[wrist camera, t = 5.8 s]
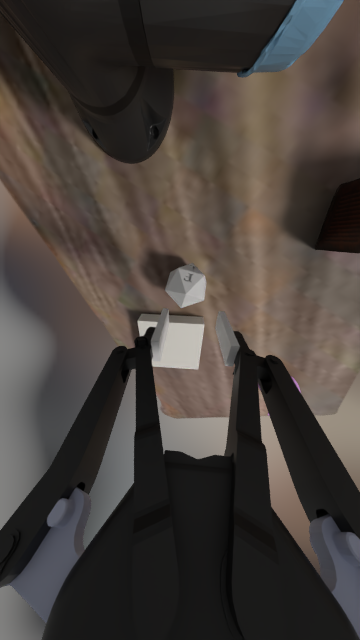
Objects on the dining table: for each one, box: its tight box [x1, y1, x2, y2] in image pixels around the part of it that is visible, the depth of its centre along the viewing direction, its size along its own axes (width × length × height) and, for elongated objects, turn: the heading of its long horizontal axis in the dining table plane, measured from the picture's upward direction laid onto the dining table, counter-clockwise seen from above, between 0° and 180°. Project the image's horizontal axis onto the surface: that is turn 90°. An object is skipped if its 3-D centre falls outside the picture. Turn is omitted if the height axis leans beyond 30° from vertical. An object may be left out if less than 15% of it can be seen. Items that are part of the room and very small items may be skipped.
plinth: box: [137, 314, 204, 369], centre depth 43 cm, size 18×18×4 cm
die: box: [165, 263, 206, 308], centre depth 30 cm, size 8×9×10 cm
